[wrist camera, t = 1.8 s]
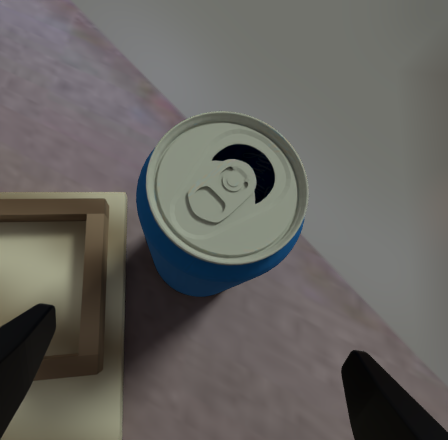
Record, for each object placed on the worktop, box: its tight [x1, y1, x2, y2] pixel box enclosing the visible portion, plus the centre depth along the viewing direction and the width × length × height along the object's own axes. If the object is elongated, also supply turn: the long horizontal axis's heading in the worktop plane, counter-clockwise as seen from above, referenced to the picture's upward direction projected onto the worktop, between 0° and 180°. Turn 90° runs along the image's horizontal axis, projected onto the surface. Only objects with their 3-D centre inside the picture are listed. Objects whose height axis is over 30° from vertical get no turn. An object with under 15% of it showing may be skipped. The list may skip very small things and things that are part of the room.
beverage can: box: [136, 111, 309, 297], centre depth 16 cm, size 6×6×12 cm
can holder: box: [0, 192, 127, 440], centre depth 17 cm, size 18×12×2 cm, turn 4°
